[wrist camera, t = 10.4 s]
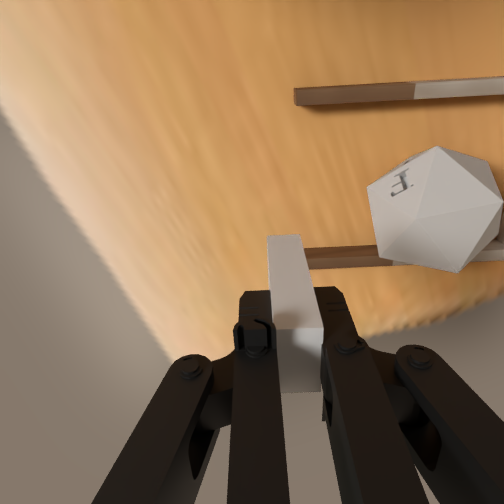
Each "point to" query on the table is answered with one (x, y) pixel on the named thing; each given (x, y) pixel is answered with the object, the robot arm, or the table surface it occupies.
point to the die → (435, 209)
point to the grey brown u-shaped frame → (387, 92)
